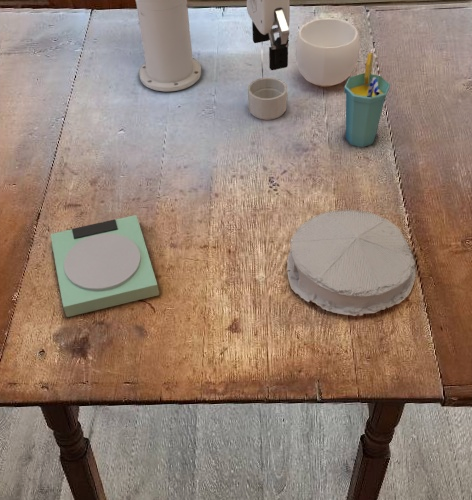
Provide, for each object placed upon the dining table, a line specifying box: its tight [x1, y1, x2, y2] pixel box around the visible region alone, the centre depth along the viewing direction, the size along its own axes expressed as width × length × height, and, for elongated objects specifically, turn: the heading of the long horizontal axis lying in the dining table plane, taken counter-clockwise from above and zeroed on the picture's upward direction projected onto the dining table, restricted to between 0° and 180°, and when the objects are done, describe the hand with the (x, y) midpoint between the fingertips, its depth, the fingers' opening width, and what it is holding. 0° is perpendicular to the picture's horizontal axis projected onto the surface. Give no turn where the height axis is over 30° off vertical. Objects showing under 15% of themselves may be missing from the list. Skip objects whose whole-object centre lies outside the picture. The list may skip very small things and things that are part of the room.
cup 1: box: [294, 17, 361, 88], centre depth 132 cm, size 12×12×10 cm
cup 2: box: [344, 52, 391, 148], centre depth 117 cm, size 14×8×15 cm, turn 2°
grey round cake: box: [286, 207, 417, 317], centre depth 101 cm, size 20×20×7 cm
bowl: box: [247, 77, 288, 121], centre depth 128 cm, size 7×7×4 cm
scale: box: [50, 214, 160, 318], centre depth 105 cm, size 16×14×3 cm
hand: (269, 54), depth 121 cm, fingers open, 9 cm apart
